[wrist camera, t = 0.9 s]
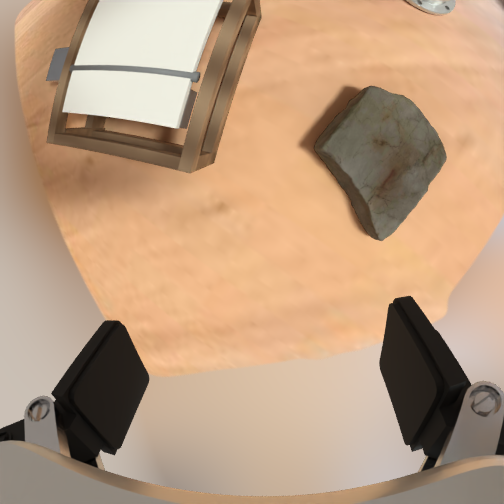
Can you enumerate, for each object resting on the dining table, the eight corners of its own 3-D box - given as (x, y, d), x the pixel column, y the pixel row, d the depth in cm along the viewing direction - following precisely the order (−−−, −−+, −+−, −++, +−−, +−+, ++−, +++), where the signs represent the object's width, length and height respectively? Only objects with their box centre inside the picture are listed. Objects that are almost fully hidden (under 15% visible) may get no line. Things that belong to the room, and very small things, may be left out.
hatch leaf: (120, 3, 20) (100, -10, 15) (237, 8, 20) (231, -13, 16) (84, 112, 26) (58, 111, 21) (195, 130, 26) (180, 129, 22)
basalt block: (75, 54, 27) (55, 48, 23) (98, 52, 27) (78, 46, 23) (66, 83, 29) (45, 80, 25) (88, 83, 29) (68, 80, 25)
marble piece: (372, 237, 36) (382, 249, 32) (292, 165, 33) (294, 169, 30) (443, 153, 30) (459, 156, 26) (371, 74, 28) (383, 68, 24)
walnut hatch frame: (135, 6, 24) (99, -21, 15) (261, 17, 25) (256, -23, 16) (95, 137, 33) (46, 142, 23) (213, 163, 33) (190, 173, 24)
